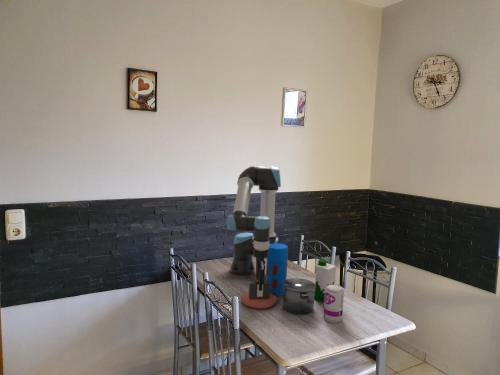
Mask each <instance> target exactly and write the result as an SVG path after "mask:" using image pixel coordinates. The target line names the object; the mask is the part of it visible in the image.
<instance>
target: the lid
mask: <svg viewBox="0 0 500 375" xmlns="http://www.w3.org/2000/svg"><path fill="white" fill-rule="evenodd" d="M257 283H258V281H256V280H255V281H249V282H248V292H244V293H243V294H242V295H241V302H242V304H243V305H244V306H246V307H248V308H252V309H259V310H262V309H263V310H264V309H269V308H272V307H275V305H276V304H277V297H276V296H274V295H273V294H271V293H270V282H269V281H266V280H264V284H263V296H261V297H257Z"/></svg>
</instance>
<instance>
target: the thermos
mask: <svg viewBox="0 0 500 375" xmlns="http://www.w3.org/2000/svg"><path fill="white" fill-rule="evenodd" d="M268 250H269V256H268V257H267V258H266V264H265V281H269V282H270V293H271V294H273V295H274V296H275V297H276V296H277V297H279V296H283V281H285V280H287V274H288V257H289V253H288V252H289V247H288V245H287V244H284V243H279V242H278V243H274V244H269V248H268Z"/></svg>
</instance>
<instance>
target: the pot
mask: <svg viewBox="0 0 500 375" xmlns="http://www.w3.org/2000/svg"><path fill="white" fill-rule="evenodd" d="M315 288H316V285H315V282H314V281H313V280H312V281H311V280H309V279H305V278H299V277H293V278H288V279H287V278H286V280H285V281H283V295H282V304H281V305H282V307H281V308H282V310H284V312H286V313H288V314H290V315H295V316H308V315H310V314H312V313H314V310H315V299H314V296H315Z"/></svg>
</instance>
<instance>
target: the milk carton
mask: <svg viewBox="0 0 500 375" xmlns="http://www.w3.org/2000/svg"><path fill="white" fill-rule="evenodd" d="M314 267H315V268H314V269H315V282H314V283H315V285H316V288H315V296H314V301H315V300H316V301H318V302H322V303H323V304H324V301H325V289H326V287H327V286H328V285H335V278H336V276H335V275H336V269H337V266H336V265H333V264H331V263H327V260H326V259H318V261H317V264H314Z"/></svg>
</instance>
